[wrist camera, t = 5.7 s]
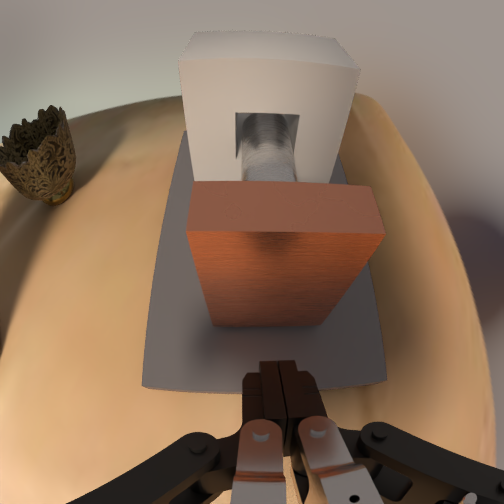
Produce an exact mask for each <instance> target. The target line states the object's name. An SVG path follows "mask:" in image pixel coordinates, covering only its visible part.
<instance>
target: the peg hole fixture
mask: <svg viewBox="0 0 504 504" xmlns="http://www.w3.org/2000/svg"><path fill="white" fill-rule="evenodd" d="M178 65H179V73H180V82H181V90H182V98H183V106H184V114H185V121H186V128H187V131H184V134H183V137H182V141H181V145H180V149H179V153H178V157H177V161H176V165H175V169H174V173H173V177H172V182H171V186H170V191H169V195H168V200H167V205H166V209H165V214H164V219H163V224H162V230H161V235H160V240H159V246H158V252H157V258H156V264H155V270H154V276H153V283H152V290H151V297H150V305H149V313H148V321H147V330H146V339H145V350H144V361H143V374H142V386H143V387H146V388H149V389H157V390H167V391H180V392H195V393H219V394H242V380H243V378H244V377H245V375H246V374H247V372H259V361H278V360H295V362H296V366H297V369H298V371H308V372H309V373H310V374H311V375H312V376H313V377H314V378H315V381H316V384H317V387H318V390H319V391H321V390H331V389H341V388H349V387H357V386H364V385H371V384H377V383H380V382H383V381H386V380H387V372H386V364H385V356H384V348H383V341H382V334H381V328H380V321H379V315H378V310H377V304H376V298H375V293H374V288H373V283H372V278H371V273H370V268H369V264H368V262H367V263H366V265H365V266H364V267H363V269H362V270H361V272H360V273H359V275H358V276H357V277H356V279H355V280H354V282H353V283H352V284H351V286H350V287H349V288H348V290H347V291H346V293H345V294H344V295H343V297H342V298H341V299H340V301H339V302H338V303H337V305H336V306H335V307H334V309H333V310H332V311H331V313H330V314H329V315H328V316H327V318H326V319H325V320H324V322H323V323H322V324H321V325H314V326H283V327H213V324H212V321H211V318H210V315H209V311H208V308H207V305H206V301H205V298H204V295H203V291H202V288H201V284H200V281H199V278H198V274H197V271H196V267H195V263H194V260H193V256H192V253H191V249H190V245H189V242H188V238H187V234H186V226H187V219H188V212H189V206H190V199H191V193H192V186H193V181H241V157H242V126H243V123H244V121H245V119H246V118H247V117H248V116H249V115H251V114H252V113H279V114H281V115H282V116H283V117H284V118H285V119H286V121H287V123H288V128H289V133H290V139H291V144H292V150H293V156H294V162H295V168H296V174H297V180H298V182H310V183H329V184H345V185H348V183H347V179H346V176H345V173H344V170H343V167H342V163H341V160H340V157H339V154H338V151H339V148H340V144H341V141H342V137H343V134H344V130H345V127H346V123H347V120H348V116H349V112H350V109H351V105H352V101H353V98H354V94H355V90H356V86H357V81H358V78H359V74H360V70H361V69H360V68H359V67H358V66H357V64H356V63H355V62H354V60H353V59H352V58H351V57H350V55H349V54H348V53H347V52H346V51H345V49H344V48H343V47H342V46H341V45H340V44H339V42H338V41H337V40H336V39H335V38H329V37H323V36H316V35H307V34H298V33H286V32H271V31H207V32H195V33H194V34H193V36H192V38H191V39H190V41H189V43H188V44H187V46H186V48H185V50H184V51H183V53H182V55H181V57H180V58H179V60H178Z"/></svg>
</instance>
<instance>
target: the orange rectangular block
mask: <svg viewBox="0 0 504 504" xmlns="http://www.w3.org/2000/svg"><path fill="white" fill-rule="evenodd" d="M186 234H187V238H188V242H189V245H190V249H191V253H192V256H193V260H194V263H195V267H196V271H197V274H198V278H199V281H200V284H201V288H202V291H203V295H204V298H205V301H206V305H207V308H208V311H209V315H210V318H211V321H212V324H213V327H283V326H314V325H321V324H322V323H323V322H324V320H325V319H326V318H327V316H328V315H329V314H330V313H331V311H332V310H333V309H334V307H335V306H336V305H337V303H338V302H339V301H340V299H341V298H342V297H343V295H344V294H345V293H346V291H347V290H348V288H349V287H350V286H351V284H352V283H353V282H354V280H355V279H356V277H357V276H358V275H359V273H360V272H361V270H362V269H363V267H364V266H365V265H366V263H367V262H368V260H369V259H370V257H371V256H372V254H373V253H374V251H375V250H376V248H377V247H378V245H379V244H380V242H381V241H382V239H383V238H384V236H385V235H386V232H385V229H384V225H383V222H382V219H381V216H380V213H379V210H378V206H377V203H376V200H375V197H374V194H373V192H372V189H371V186H359V185H345V184H329V183H310V182H298V180H297V174H296V168H295V162H294V156H293V150H292V144H291V139H290V133H289V128H288V123H287V121H286V119H285V118H284V117H283V116H282V115H281V114H279V113H252V114H251V115H249V116H248V117H247V118H246V119H245V121H244V123H243V126H242V157H241V181H193V186H192V193H191V199H190V206H189V212H188V219H187V226H186Z"/></svg>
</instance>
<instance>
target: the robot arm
mask: <svg viewBox="0 0 504 504" xmlns="http://www.w3.org/2000/svg"><path fill="white" fill-rule="evenodd" d="M286 456H290V457H291V468H290V473H291V477H292V480H293V484H294V488H295V492H296V496H297V499H298V503H299V504H504V471H503V470H500V469H497V468H494V467H491V466H488V465H486V464H483V463H480V462H477V461H474V460H472V459H469V458H466V457H464V456H461V455H459V454H456V453H453V452H451V451H448V450H446V449H444V448H441V447H439V446H436V445H434V444H432V443H429V442H427V441H425V440H422V439H420V438H418V437H416V436H413V435H411V434H409V433H407V432H405V431H402V430H400V429H398V428H396V427H394V426H392V425H390V424H387V423H384V422H372V423H369V424H367V425H365V426H364V427H363V428H362V430H361V431H357V430H347V429H342V428H339V427H337V425H336V424H335V423H334V422H333V421H332V420H331V419H329V418H328V417H327V414H326V411H325V408H324V405H323V402H322V399H321V396H320V394H319V390H318V387H317V384H316V381H315V378H314V377H313V376H312V375H311V374H310V373H309V372H308V371H298V369H297V366H296V362H295V360H278V361H259V372H247V374H246V375H245V377H244V378H243V380H242V426H241V428H240V429H239V430H238V431H237V432H236V433H235V434H233V435H231V436H229V437H225V438H221V439H216V438H214V437H213V436H212V435H210V434H207V433H203V432H193V433H189V434H186V435H184V436H183V437H181V438H180V439H178V440H177V441H175V442H174V443H172V444H171V445H169V446H168V447H166V448H165V449H163V450H162V451H160V452H159V453H157V454H155V455H154V456H152V457H151V458H149V459H147V460H146V461H144V462H143V463H141V464H139V465H138V466H136V467H134V468H133V469H131V470H129V471H127V472H126V473H124V474H122V475H121V476H119V477H117V478H115V479H113V480H112V481H110V482H108V483H106V484H104V485H102V486H101V487H99V488H97V489H95V490H93V491H91V492H89V493H87V494H85V495H83V496H81V497H79V498H77V499H75V500H73V501H71V502H69V503H66V504H210V503H211V502H212V501H214V500H215V499H216V498H217V497H218V496H219V495H220V494H221V493H222V492H223V491H226V490H230V489H232V494H231V502H230V504H286V480H285V476H284V475H283V457H286ZM384 465H385V466H384ZM386 466H387V467H386ZM398 472H399V473H398ZM400 473H401V474H400Z"/></svg>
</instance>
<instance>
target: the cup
mask: <svg viewBox="0 0 504 504" xmlns="http://www.w3.org/2000/svg"><path fill="white" fill-rule="evenodd" d="M2 143H3V146H4V147H2V146H0V172H1V173H2V174H3V175H4V176H5V177H6V179H7V180H8V181H9V182H10V183H11V184H12V185H13V186H14V187H15V188H16V189H17V190H18V191H19V192H20V193H21V194H22V195H24V196H25V197H27V198H29V199H32V200H42V201H43V202H44V203H45V204H47V205H49V206H56V205H59V204H61V203H62V202H64V201H65V200H66V199H67V198H68V197H69V196H70V194H71V193H72V191H73V178H72V175H73V173H74V169H75V164H76V156H75V150H74V145H73V141H72V137H71V134H70V130H69V126H68V123H67V119H66V114H65V111H64V110H62V108H61V107H60V108H59V111H58V109H57V108H56V107H54V106H52V105H50V106H49V107H48V109H47V110H46V111H44V109H40V110H39V111H38V120H37V119H36V120H33V121H32V122H31V123H30V122H27V120H26V119H22V125H19V124H13V125H12V127H11V130H10V135H9V138H8V137H6V136H2Z"/></svg>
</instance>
